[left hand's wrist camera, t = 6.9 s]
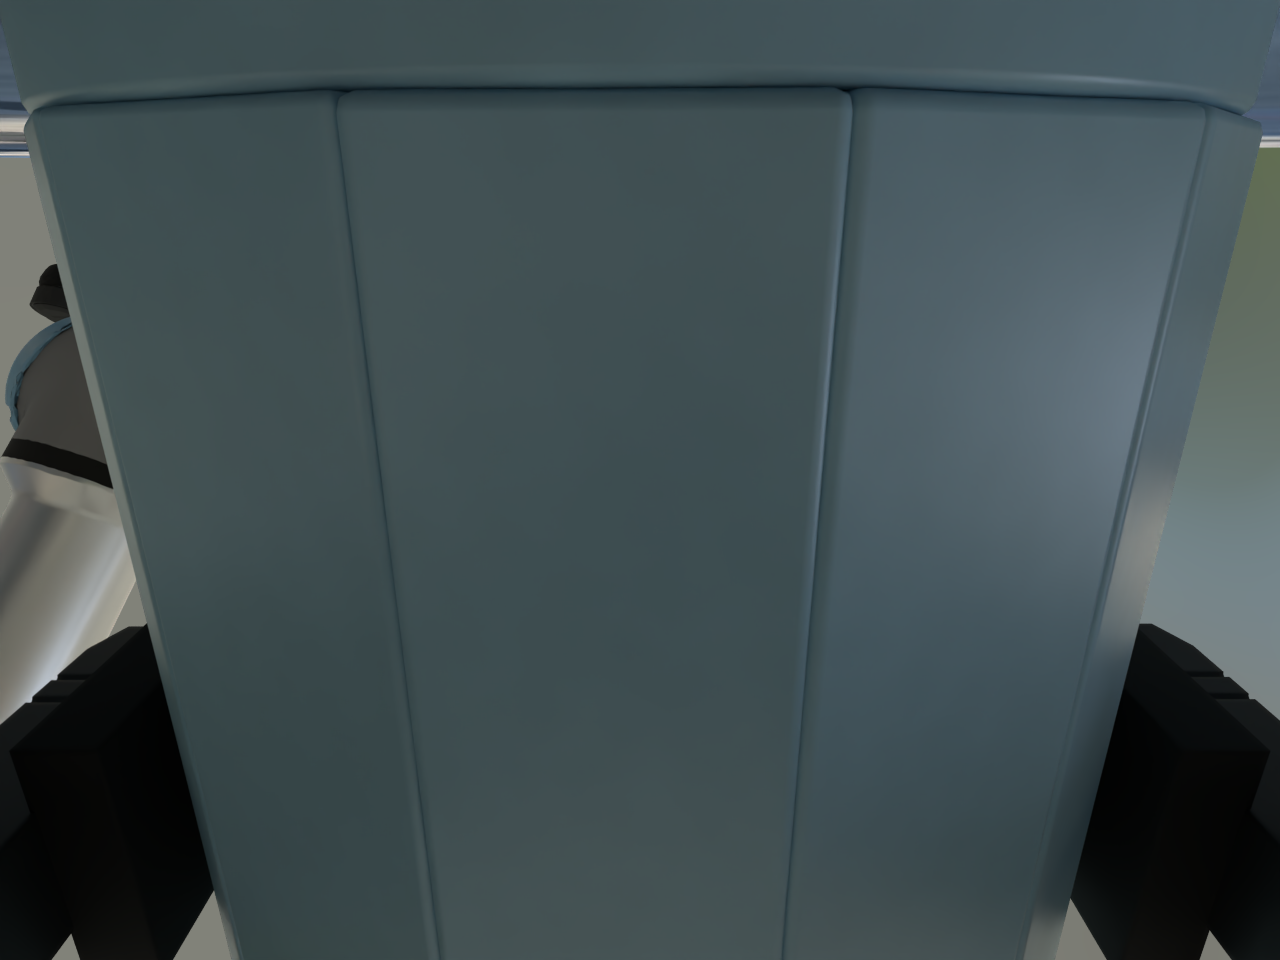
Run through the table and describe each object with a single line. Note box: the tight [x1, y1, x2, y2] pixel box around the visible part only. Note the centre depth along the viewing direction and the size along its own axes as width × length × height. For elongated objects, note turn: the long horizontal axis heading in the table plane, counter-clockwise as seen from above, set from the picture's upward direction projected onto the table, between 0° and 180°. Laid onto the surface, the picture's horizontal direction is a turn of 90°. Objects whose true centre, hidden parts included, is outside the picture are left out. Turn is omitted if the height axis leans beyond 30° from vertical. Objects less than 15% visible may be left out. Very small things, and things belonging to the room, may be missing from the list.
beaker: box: [0, 0, 1280, 960], centre depth 9 cm, size 9×9×12 cm
